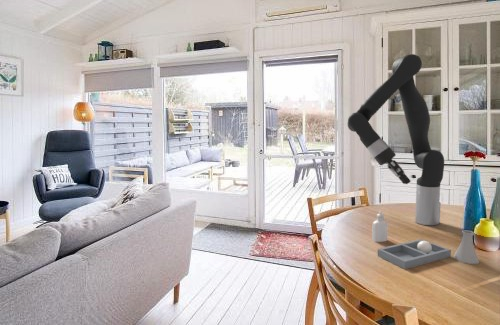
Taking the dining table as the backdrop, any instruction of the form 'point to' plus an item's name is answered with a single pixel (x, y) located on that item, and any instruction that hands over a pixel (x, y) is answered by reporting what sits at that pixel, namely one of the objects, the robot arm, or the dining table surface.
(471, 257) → the flask
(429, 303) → the dining table surface
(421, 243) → the ceramic egg
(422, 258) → the holder
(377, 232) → the eye dropper bottle
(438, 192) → the robot arm
